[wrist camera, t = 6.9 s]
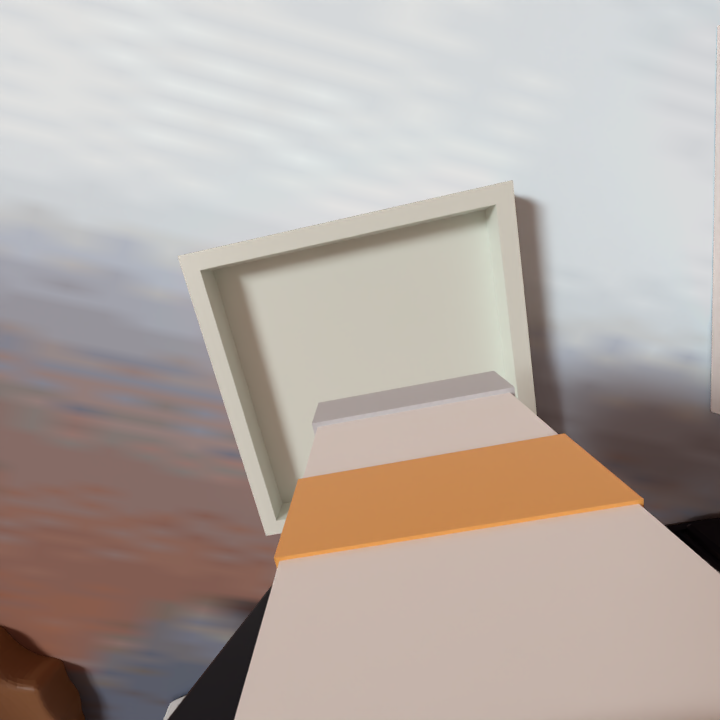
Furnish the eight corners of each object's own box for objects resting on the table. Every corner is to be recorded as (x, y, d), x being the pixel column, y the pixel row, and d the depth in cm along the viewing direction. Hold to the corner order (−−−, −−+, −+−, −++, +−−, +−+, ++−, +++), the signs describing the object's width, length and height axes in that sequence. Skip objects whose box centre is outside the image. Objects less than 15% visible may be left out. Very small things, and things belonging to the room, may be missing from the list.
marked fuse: (510, 522, 10) (1129, 1596, 2) (352, 547, 10) (314, 1597, 2) (493, 370, 9) (1695, 1336, 1) (318, 402, 9) (-5, 1391, 1)
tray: (527, 467, 21) (544, 488, 19) (274, 512, 22) (265, 535, 20) (496, 189, 18) (512, 180, 16) (197, 257, 18) (177, 256, 17)
